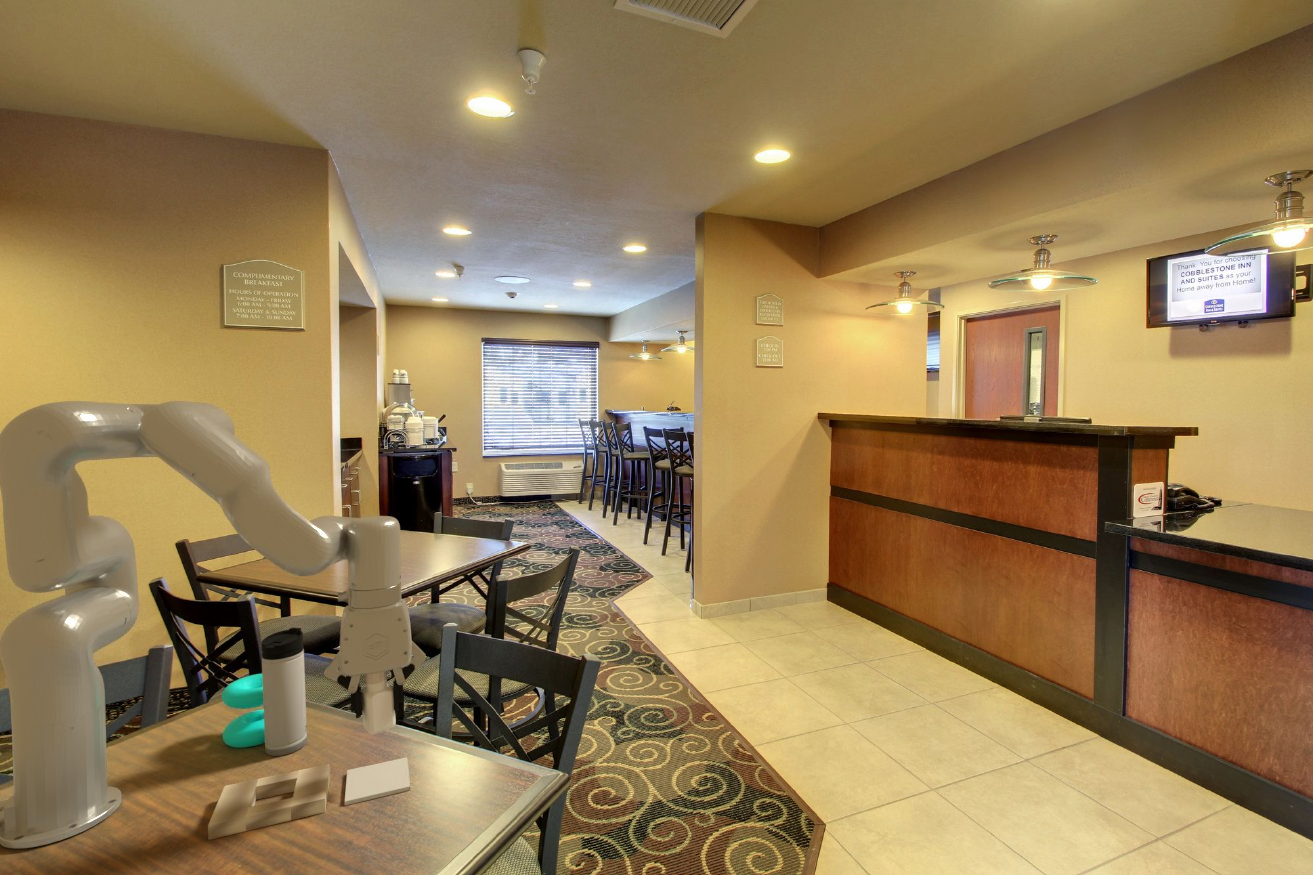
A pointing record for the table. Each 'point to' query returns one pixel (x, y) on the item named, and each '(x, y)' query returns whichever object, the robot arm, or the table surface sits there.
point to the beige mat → (377, 781)
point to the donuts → (251, 724)
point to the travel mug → (284, 692)
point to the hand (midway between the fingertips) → (377, 709)
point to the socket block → (240, 798)
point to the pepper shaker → (377, 703)
